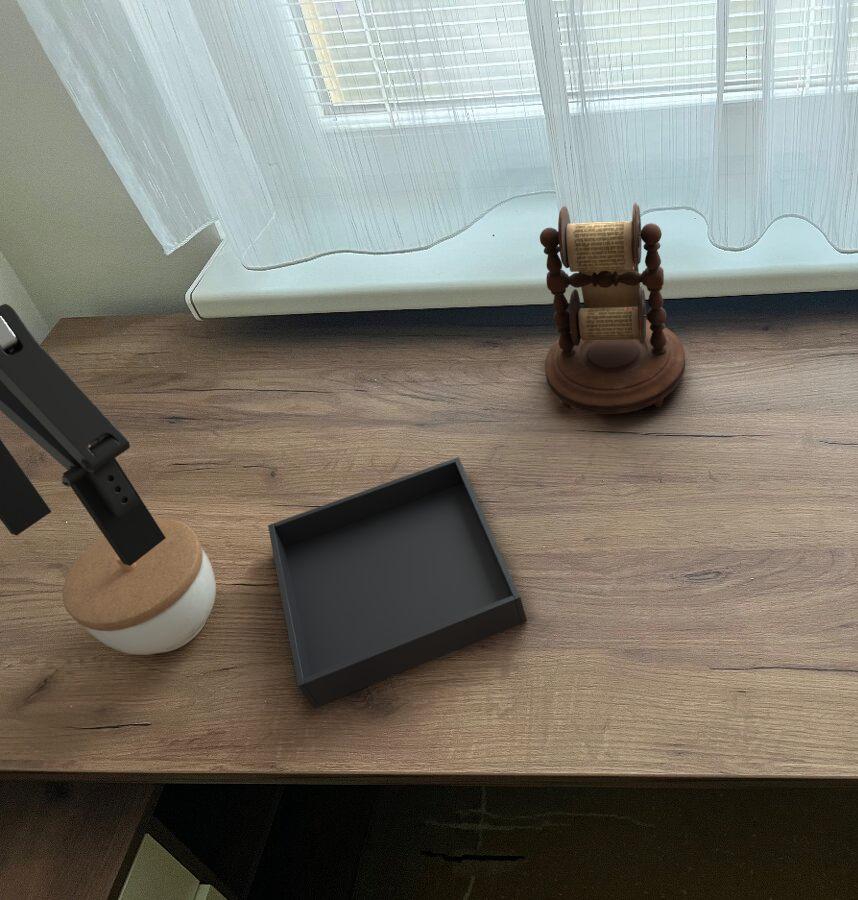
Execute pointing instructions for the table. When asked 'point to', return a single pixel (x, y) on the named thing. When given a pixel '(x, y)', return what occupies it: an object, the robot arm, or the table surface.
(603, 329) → the scroll
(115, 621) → the trinket box
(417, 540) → the tray
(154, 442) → the table surface
